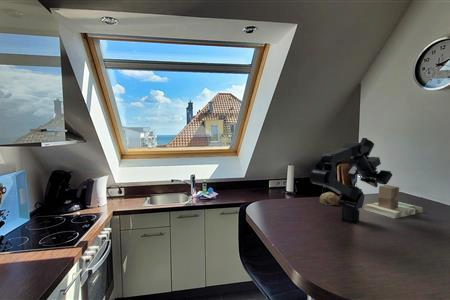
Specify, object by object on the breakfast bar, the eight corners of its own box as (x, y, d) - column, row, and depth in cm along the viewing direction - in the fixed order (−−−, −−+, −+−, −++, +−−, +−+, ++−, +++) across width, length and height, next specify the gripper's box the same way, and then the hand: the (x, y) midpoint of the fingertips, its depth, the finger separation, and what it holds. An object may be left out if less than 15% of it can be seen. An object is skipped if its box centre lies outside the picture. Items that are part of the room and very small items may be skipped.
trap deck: (394, 218, 122) (394, 213, 122) (364, 209, 136) (364, 204, 135) (422, 212, 132) (422, 207, 132) (391, 204, 145) (392, 200, 145)
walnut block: (390, 209, 128) (391, 188, 127) (378, 206, 133) (379, 186, 132) (398, 207, 130) (399, 187, 130) (385, 204, 136) (387, 185, 135)
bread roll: (318, 209, 147) (317, 198, 144) (321, 198, 155) (320, 186, 151) (338, 212, 142) (338, 200, 139) (340, 200, 150) (340, 188, 147)
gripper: (391, 152, 115) (405, 176, 121) (353, 149, 132) (367, 171, 137) (377, 172, 112) (393, 195, 118) (340, 166, 129) (355, 187, 134)
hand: (376, 186), depth 127 cm, fingers closed
